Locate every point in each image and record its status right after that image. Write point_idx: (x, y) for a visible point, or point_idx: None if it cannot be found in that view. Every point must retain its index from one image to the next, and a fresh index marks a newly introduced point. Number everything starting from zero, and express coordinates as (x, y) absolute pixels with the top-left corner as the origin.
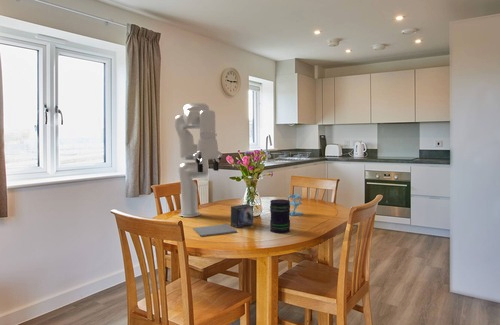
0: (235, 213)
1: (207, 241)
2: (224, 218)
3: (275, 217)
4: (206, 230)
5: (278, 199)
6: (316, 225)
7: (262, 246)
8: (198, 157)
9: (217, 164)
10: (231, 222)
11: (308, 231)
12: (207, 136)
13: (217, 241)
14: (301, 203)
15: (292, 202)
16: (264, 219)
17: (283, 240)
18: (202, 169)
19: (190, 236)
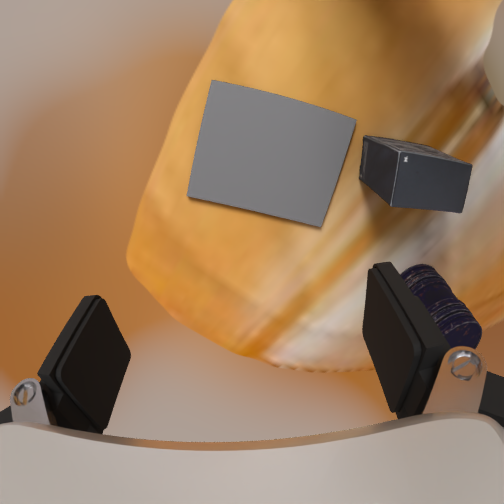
0: (381, 185)
1: (182, 250)
2: (412, 28)
3: None
4: (235, 150)
5: (478, 324)
6: (490, 299)
7: (278, 356)
8: (2, 444)
9: (392, 395)
10: (368, 143)
11: None
12: None
13: (208, 268)
14: None
15: None
16: (488, 157)
17: (348, 349)
18: (118, 379)
19: (159, 166)
